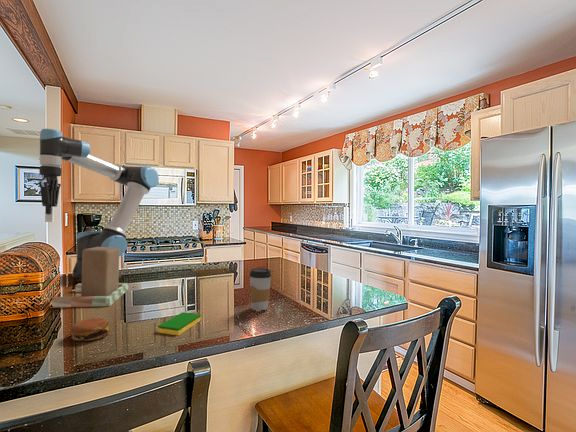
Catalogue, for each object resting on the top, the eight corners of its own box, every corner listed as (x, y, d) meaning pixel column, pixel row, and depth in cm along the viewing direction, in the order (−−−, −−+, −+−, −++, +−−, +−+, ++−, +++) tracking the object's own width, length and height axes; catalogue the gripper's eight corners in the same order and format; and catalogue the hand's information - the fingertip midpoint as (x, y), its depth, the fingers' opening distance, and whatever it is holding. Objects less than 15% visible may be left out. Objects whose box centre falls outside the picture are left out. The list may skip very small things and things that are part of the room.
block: (105, 301, 126) (106, 250, 125) (79, 300, 126) (81, 249, 125) (119, 294, 136) (120, 247, 135) (95, 293, 136) (96, 246, 135)
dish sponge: (201, 321, 109) (201, 314, 109) (178, 336, 96) (178, 328, 96) (182, 318, 111) (182, 311, 111) (157, 333, 98) (157, 325, 98)
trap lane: (78, 290, 140) (78, 283, 140) (128, 289, 144) (128, 283, 144) (49, 307, 116) (49, 299, 116) (109, 306, 120) (109, 298, 120)
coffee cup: (274, 309, 124) (276, 270, 123) (257, 313, 118) (259, 273, 117) (260, 304, 129) (262, 267, 129) (243, 308, 124) (245, 269, 123)
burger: (68, 335, 94) (68, 319, 94) (104, 328, 100) (104, 313, 100) (74, 346, 86) (75, 329, 86) (113, 338, 93) (113, 322, 93)
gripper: (48, 167, 143) (47, 220, 143) (31, 163, 130) (30, 222, 131) (67, 168, 144) (66, 221, 145) (52, 165, 132) (51, 222, 132)
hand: (49, 221), depth 138 cm, fingers closed
